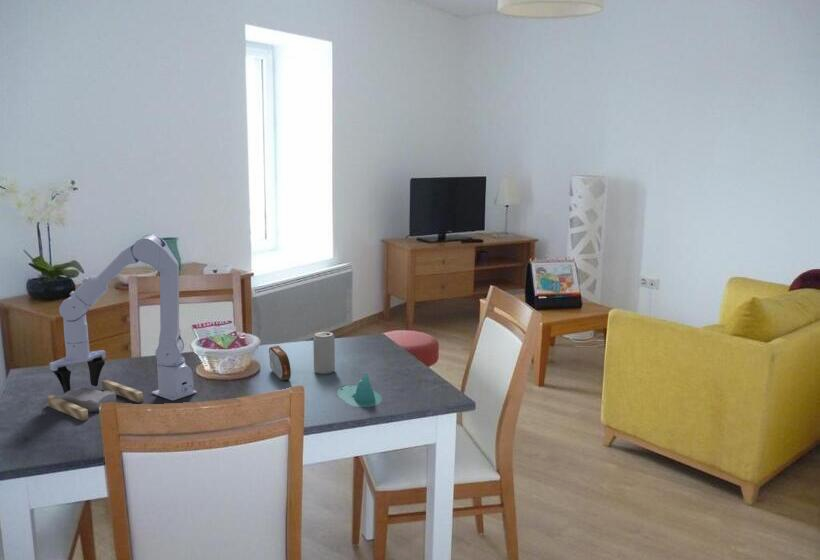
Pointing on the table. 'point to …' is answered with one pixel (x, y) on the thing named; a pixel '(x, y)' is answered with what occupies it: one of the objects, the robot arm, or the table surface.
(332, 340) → the beverage can
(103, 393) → the stone block
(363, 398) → the diorama
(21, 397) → the table surface
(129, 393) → the pair of wooden posts
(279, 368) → the bread slice
